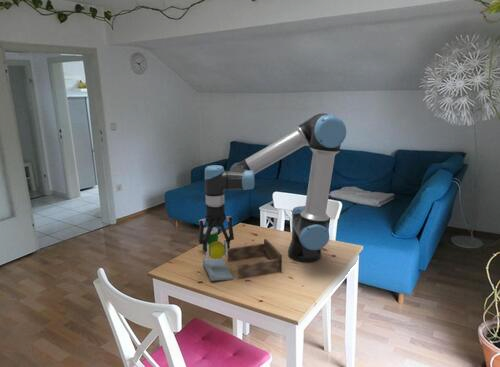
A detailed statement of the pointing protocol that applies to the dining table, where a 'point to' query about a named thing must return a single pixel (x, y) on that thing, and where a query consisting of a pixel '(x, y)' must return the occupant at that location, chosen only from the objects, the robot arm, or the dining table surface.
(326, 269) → the dining table surface
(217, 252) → the tennis ball
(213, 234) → the soda can
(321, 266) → the dining table surface
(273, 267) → the crate
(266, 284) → the dining table surface
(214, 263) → the blue-grey book
